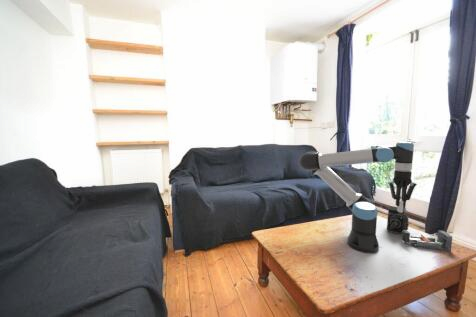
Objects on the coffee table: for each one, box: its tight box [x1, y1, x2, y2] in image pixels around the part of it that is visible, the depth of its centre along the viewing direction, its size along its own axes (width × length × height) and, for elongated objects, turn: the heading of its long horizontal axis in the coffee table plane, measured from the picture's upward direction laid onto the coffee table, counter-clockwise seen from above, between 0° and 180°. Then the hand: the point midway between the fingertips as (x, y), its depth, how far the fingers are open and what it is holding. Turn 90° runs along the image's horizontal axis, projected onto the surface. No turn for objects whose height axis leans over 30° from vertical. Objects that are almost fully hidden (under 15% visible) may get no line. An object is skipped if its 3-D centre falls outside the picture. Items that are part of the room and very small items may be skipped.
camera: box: [386, 205, 410, 235], centre depth 133 cm, size 10×11×15 cm
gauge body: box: [410, 229, 453, 252], centre depth 116 cm, size 16×7×8 cm, turn 75°
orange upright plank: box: [420, 234, 430, 242], centre depth 117 cm, size 2×7×4 cm, turn 164°
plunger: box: [401, 230, 422, 244], centre depth 118 cm, size 8×4×6 cm, turn 75°
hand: (399, 211), depth 119 cm, fingers closed
